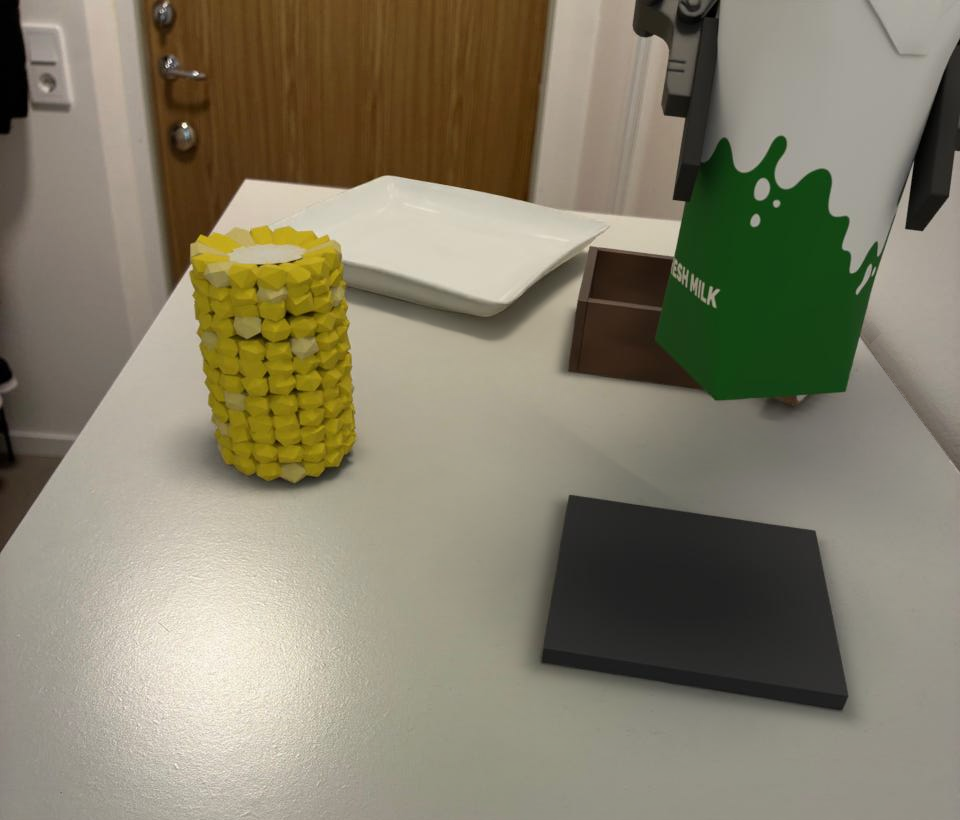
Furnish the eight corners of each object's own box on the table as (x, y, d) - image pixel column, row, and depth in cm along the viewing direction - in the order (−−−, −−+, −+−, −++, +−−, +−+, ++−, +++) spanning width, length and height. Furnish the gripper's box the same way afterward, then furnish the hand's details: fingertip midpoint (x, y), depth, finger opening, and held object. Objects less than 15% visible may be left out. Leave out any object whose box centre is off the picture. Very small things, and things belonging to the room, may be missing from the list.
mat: (811, 543, 64) (815, 530, 63) (843, 709, 52) (848, 695, 51) (567, 507, 65) (568, 494, 64) (541, 661, 53) (543, 647, 52)
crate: (726, 330, 91) (741, 265, 87) (732, 393, 80) (750, 322, 77) (580, 311, 92) (589, 245, 88) (567, 371, 81) (577, 299, 78)
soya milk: (631, 334, 51) (719, -159, 38) (782, 327, 54) (914, -139, 41) (706, 412, 45) (843, -148, 32) (875, 400, 47) (1064, -126, 34)
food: (266, 522, 64) (204, 459, 70) (416, 444, 68) (344, 392, 74) (183, 301, 53) (119, 251, 59) (367, 224, 57) (288, 185, 63)
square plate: (384, 205, 112) (385, 169, 110) (609, 257, 104) (614, 219, 102) (240, 273, 93) (236, 230, 90) (501, 343, 85) (505, 298, 82)
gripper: (1083, -180, 46) (1029, 275, 44) (617, -224, 48) (544, 213, 46) (1189, -357, 39) (1129, 180, 37) (632, -402, 40) (546, 110, 38)
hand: (805, 198), depth 41 cm, fingers closed on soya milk, 9 cm apart
